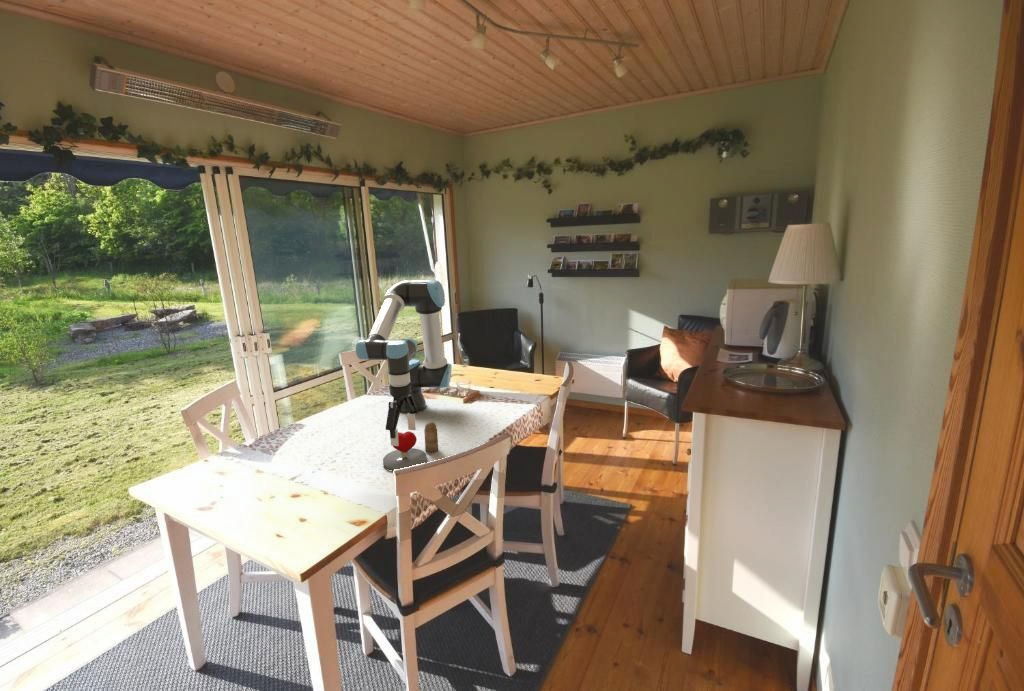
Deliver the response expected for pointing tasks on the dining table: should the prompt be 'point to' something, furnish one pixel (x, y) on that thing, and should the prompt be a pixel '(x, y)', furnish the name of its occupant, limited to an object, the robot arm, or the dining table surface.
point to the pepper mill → (431, 438)
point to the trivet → (403, 459)
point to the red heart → (405, 442)
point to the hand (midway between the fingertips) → (403, 437)
